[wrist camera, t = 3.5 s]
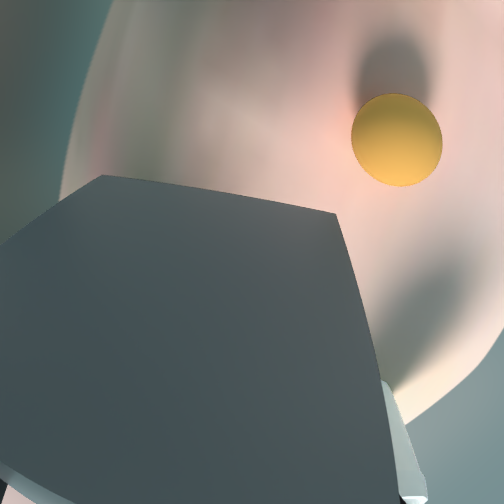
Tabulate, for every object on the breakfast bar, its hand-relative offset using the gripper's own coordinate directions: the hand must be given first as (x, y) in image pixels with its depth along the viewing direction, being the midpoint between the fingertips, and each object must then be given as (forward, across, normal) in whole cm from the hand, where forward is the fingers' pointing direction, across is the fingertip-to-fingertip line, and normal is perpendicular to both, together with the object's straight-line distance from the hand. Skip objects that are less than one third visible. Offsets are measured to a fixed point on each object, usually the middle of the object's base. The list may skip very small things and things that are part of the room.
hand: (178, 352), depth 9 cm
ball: (+10, -8, -6) cm, 14 cm away
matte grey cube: (+3, 0, 0) cm, 3 cm away
